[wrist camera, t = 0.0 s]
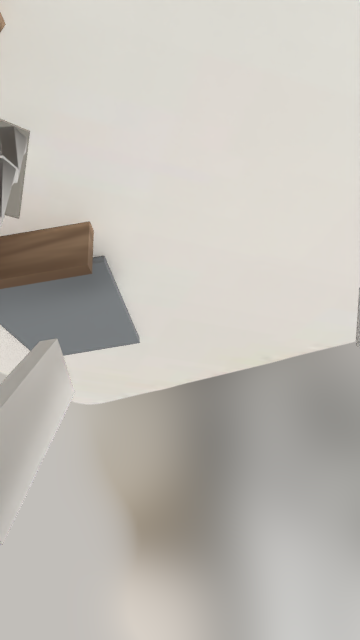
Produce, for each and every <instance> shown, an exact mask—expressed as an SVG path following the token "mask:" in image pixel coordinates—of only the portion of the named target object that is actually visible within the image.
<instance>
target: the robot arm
mask: <svg viewBox="0 0 360 640" xmlns="http://www.w3.org/2000/svg"><path fill="white" fill-rule="evenodd" d="M356 346H358V347H359V348H360V288H359V301H358V316H357V332H356ZM74 394H75V389H74V386H73V383H72V381H71V378H70V375H69V372H68V369H67V366H66V363H65V360H64V357H63V354H62V351H61V348H60V345H59V342H58V339H57V338H56V339H50V340H45V341H40V342H39V343H38V344H37V345H36V346H35V347H34V348H33V349H32V350H31V351H30V352H29V353H28V354H27V356H26V357H25V358H24V359H23V360H22V361H21V362H20V363H19V364H18V365H17V366H16V367H15V369H14V370H13V371H12V372H11V373H10V374H9V375H8V376H7V377H6V378H5V379H4V381H3V382H2V383H1V384H0V545H3V543H4V541H5V539H6V537H7V535H8V532H9V531H10V528H11V526H12V524H13V522H14V520H15V518H16V516H17V514H18V512H19V509H20V507H21V505H22V503H23V501H24V499H25V497H26V495H27V493H28V490H29V488H30V486H31V484H32V482H33V480H34V478H35V476H36V474H37V472H38V469H39V467H40V465H41V463H42V461H43V459H44V457H45V454H46V453H47V451H48V448H49V446H50V444H51V442H52V440H53V438H54V436H55V434H56V432H57V429H58V427H59V425H60V423H61V421H62V419H63V417H64V415H65V413H66V411H67V408H68V406H69V404H70V402H71V400H72V398H73V396H74Z"/></svg>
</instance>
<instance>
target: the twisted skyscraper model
mask: <svg viewBox="0 0 360 640" xmlns="http://www.w3.org/2000/svg"><path fill="white" fill-rule="evenodd" d="M29 135H30V131H28V130H26V129H23V128H21V127H19V126H16V125H14V124H11V123H9V122H7V121H4V120H2V119H0V229H1V226H2V222H3V218H4V214H5V215H9V216H12V217H16V218H19V216H20V208H21V200H22V192H23V184H24V175H25V167H26V159H27V151H28V143H29Z"/></svg>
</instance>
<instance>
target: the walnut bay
mask: <svg viewBox="0 0 360 640" xmlns="http://www.w3.org/2000/svg"><path fill="white" fill-rule="evenodd" d="M4 26H5V22H4V20H3V17H2V15H1V13H0V32H1V30H2V29H3V27H4ZM93 235H94V231H93V228H92V226H91V224H90V222H84V223H78V224H72V225H67V226H61V227H55V228H49V229H43V230H37V231H31V232H25V233H19V234H13V235H7V236H1V237H0V289H4V288H10V287H16V286H22V285H28V284H34V283H40V282H46V281H52V280H58V279H64V278H70V277H76V276H82V275H88V274H92V264H93Z"/></svg>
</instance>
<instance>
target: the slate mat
mask: <svg viewBox="0 0 360 640" xmlns="http://www.w3.org/2000/svg"><path fill="white" fill-rule="evenodd" d="M0 324H1V325H2V326H3V327H4V328H5V329H6V330H7V331H9V332H10V333H11V334H12V335H13V336H14V337H15V338H17V339H18V340H19V341H20V342H21V343H22V344H23V345H25V346H26V347H27V348H28V349H29V350H30V351H31V350H32V349H33V348H34V347H35V346H36V345H37V344H38V343H39V342H40V341H45V340H50V339H56V338H57V339H58V342H59V345H60V348H61V351H62V354H63V356H64V355H70V354H76V353H82V352H88V351H94V350H100V349H106V348H112V347H118V346H124V345H130V344H136V343H140V341H139V336H138V334H137V331H136V329H135V327H134V324H133V322H132V320H131V317H130V315H129V313H128V310H127V308H126V306H125V303H124V301H123V299H122V296H121V294H120V292H119V289H118V287H117V285H116V282H115V280H114V278H113V275H112V273H111V271H110V268H109V266H108V263H107V261H106V259H105V256H101V257H95V258H93V264H92V274H88V275H82V276H76V277H70V278H64V279H58V280H52V281H46V282H40V283H34V284H28V285H22V286H16V287H10V288H4V289H0Z"/></svg>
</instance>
